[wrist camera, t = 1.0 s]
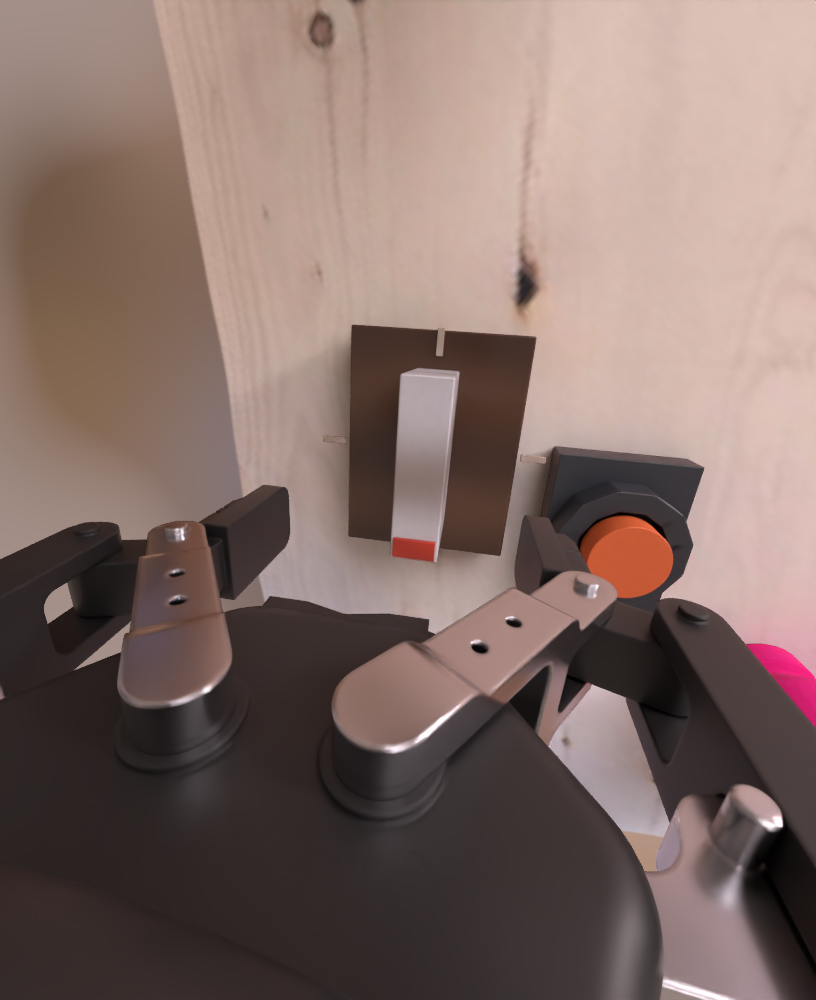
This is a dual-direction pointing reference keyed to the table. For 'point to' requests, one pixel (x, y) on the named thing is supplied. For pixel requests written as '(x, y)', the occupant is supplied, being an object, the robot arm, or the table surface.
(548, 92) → the table surface
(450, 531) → the block
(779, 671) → the pepper mill
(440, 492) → the white bar red tip
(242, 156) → the table surface
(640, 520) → the button
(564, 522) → the grey base
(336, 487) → the table surface
